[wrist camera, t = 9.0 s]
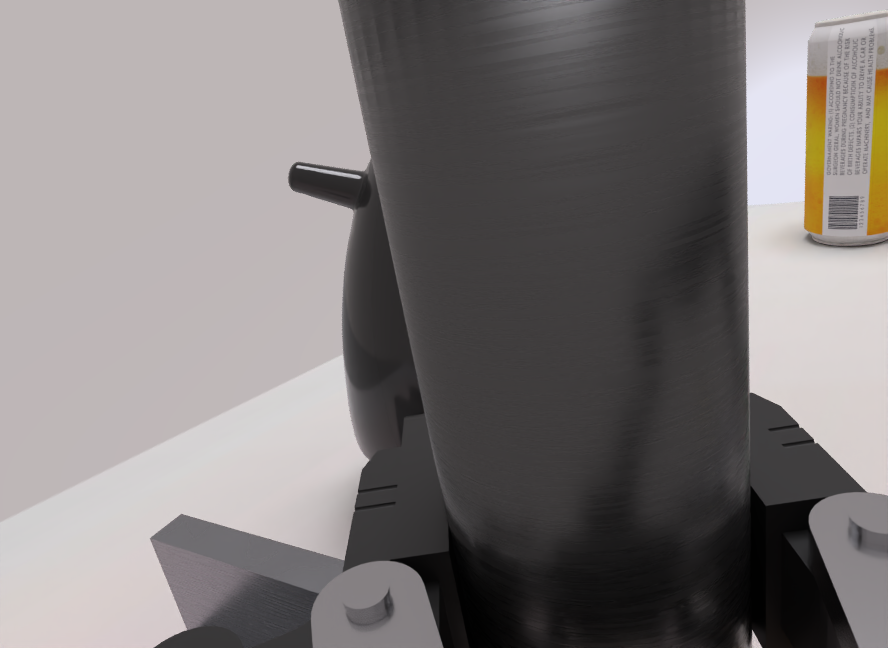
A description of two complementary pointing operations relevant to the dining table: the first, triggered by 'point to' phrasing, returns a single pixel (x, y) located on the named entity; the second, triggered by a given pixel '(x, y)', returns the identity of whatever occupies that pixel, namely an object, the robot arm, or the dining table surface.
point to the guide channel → (240, 579)
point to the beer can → (847, 131)
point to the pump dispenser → (368, 310)
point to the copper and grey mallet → (575, 303)
